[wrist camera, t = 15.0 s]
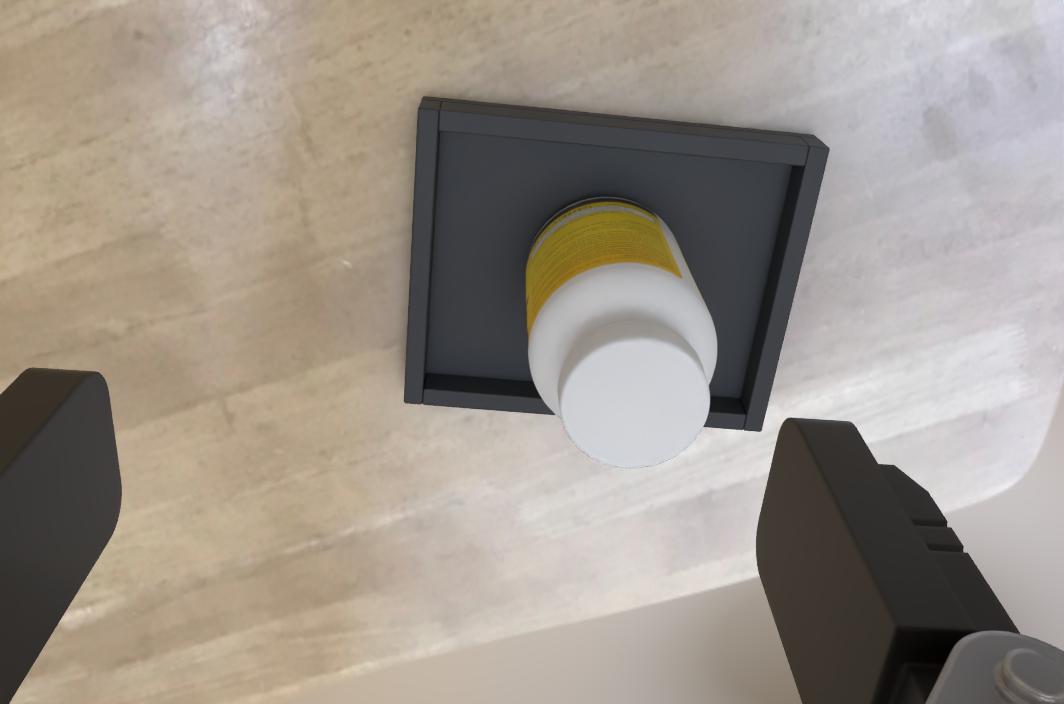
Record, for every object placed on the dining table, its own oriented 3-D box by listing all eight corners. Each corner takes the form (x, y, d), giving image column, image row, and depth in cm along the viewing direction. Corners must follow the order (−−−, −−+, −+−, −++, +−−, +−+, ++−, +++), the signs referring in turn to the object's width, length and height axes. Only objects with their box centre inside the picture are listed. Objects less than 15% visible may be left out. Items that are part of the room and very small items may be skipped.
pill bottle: (501, 225, 39) (496, 353, 28) (651, 167, 38) (703, 278, 27) (557, 357, 42) (572, 518, 31) (699, 306, 41) (763, 454, 30)
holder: (814, 134, 38) (830, 147, 36) (750, 408, 44) (761, 432, 42) (422, 95, 37) (417, 107, 35) (408, 380, 43) (403, 403, 41)
